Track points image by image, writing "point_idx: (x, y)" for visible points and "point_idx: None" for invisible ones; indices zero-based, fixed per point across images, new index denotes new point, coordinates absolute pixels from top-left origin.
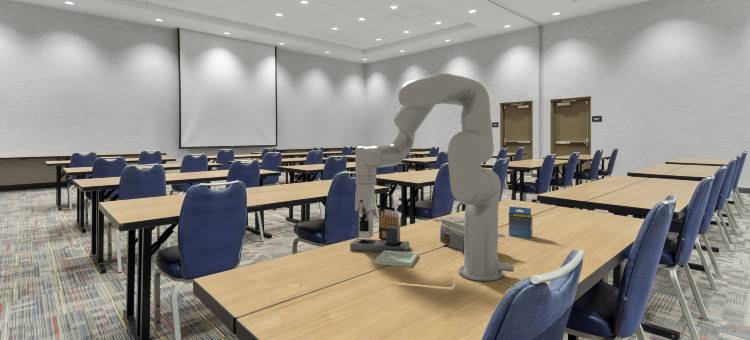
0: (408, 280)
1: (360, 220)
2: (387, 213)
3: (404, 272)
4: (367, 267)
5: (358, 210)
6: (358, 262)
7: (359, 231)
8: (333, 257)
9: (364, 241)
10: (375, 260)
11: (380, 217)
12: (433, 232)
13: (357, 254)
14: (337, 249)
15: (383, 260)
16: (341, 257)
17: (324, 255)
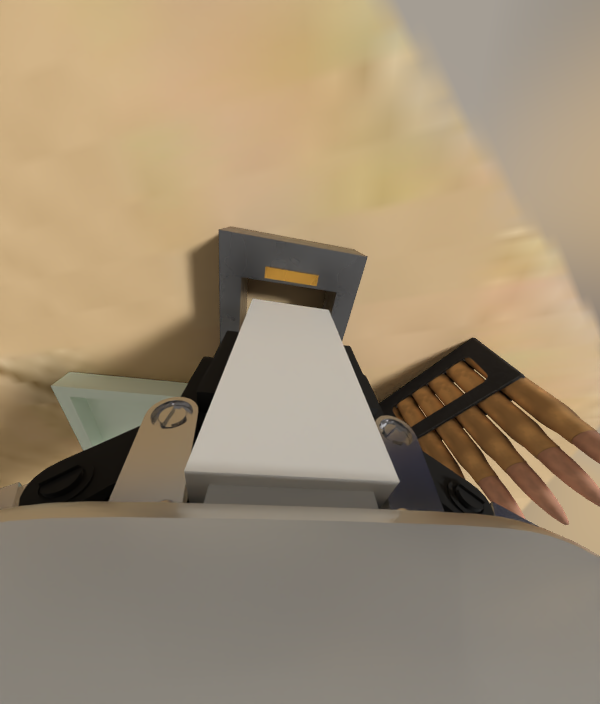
0: (3, 460)
1: (170, 406)
2: (545, 506)
3: (62, 449)
4: (30, 352)
5: (190, 522)
6: (71, 306)
7: (245, 320)
8: (72, 123)
9: (331, 304)
10: (53, 388)
11: (584, 430)
12: (506, 476)
13: (196, 277)
14: (273, 105)
15: (68, 413)
16: (102, 190)
17: (78, 3)
